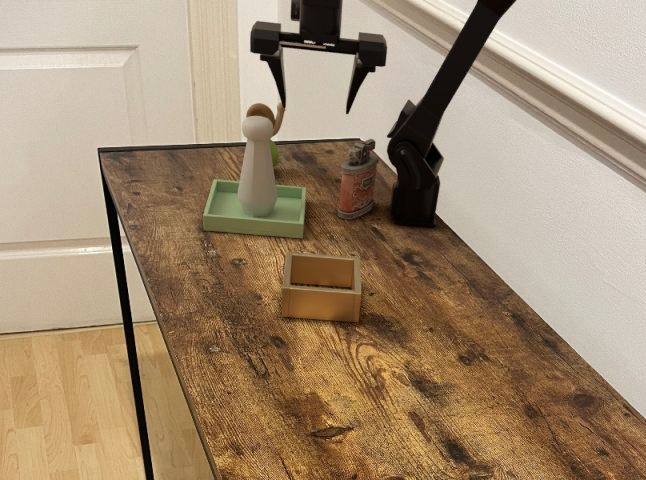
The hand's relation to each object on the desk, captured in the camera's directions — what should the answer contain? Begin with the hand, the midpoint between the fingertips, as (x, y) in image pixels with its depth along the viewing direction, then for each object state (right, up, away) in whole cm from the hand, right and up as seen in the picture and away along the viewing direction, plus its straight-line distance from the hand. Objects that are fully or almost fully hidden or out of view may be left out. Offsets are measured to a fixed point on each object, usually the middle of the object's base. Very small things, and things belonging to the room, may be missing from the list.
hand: (315, 110), depth 114 cm
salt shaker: (-9, -14, +2) cm, 17 cm away
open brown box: (+2, -32, -14) cm, 35 cm away
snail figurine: (-9, -3, +15) cm, 18 cm away
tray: (-9, -14, +3) cm, 17 cm away
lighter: (+6, -12, +8) cm, 15 cm away
